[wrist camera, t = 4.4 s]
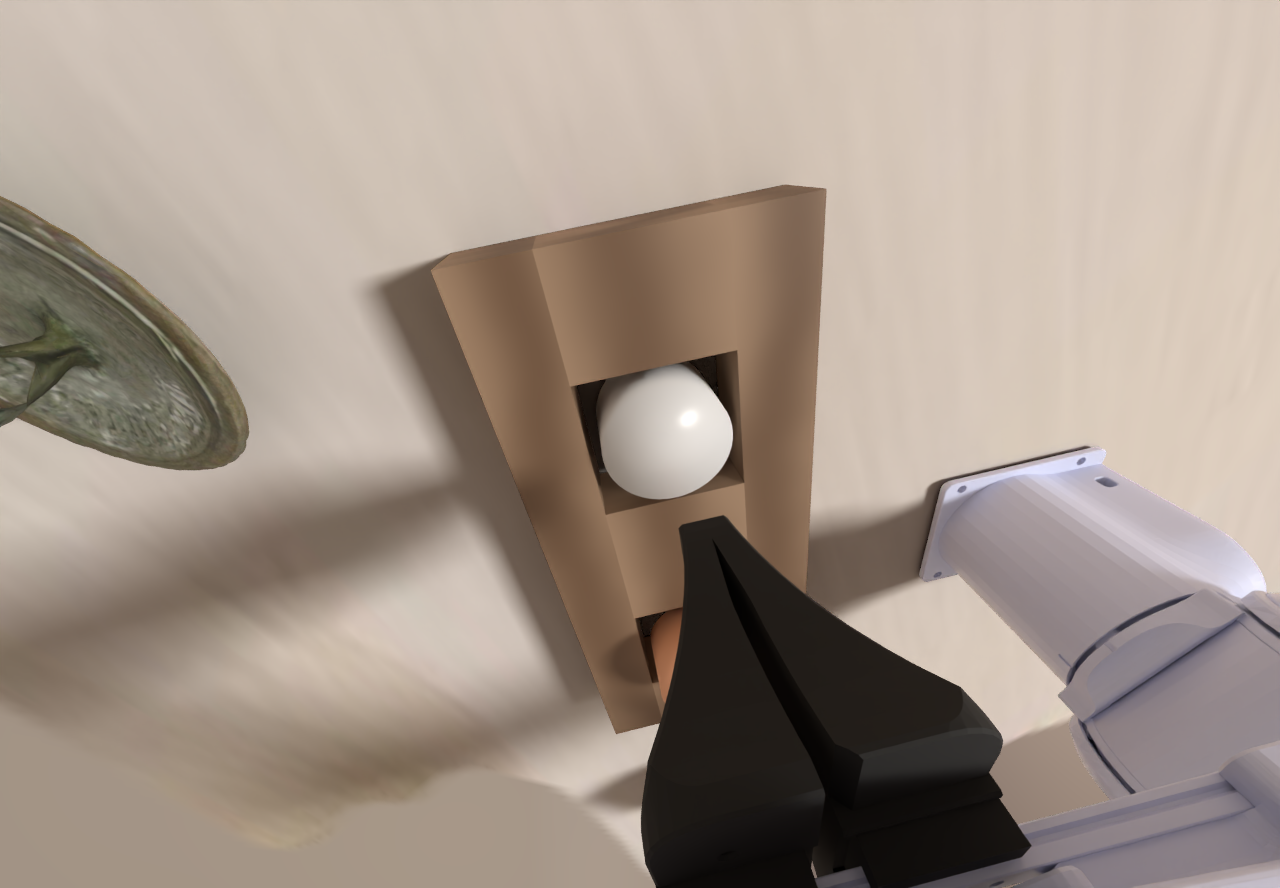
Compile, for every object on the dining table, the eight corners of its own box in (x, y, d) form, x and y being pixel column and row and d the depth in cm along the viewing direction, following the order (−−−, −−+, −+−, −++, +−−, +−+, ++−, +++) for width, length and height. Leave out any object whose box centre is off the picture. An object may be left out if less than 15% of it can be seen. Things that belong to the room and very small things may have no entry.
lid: (346, 337, 17) (275, 395, 13) (212, 498, 19) (116, 591, 15) (-51, 52, 12) (-391, -9, 8) (-162, 320, 14) (-465, 387, 10)
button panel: (784, 184, 16) (826, 188, 14) (781, 645, 31) (801, 687, 29) (450, 252, 16) (430, 270, 13) (611, 687, 31) (616, 734, 28)
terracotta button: (736, 590, 24) (759, 642, 21) (741, 646, 26) (761, 699, 24) (643, 612, 24) (654, 668, 21) (657, 666, 26) (668, 722, 24)
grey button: (704, 342, 18) (729, 371, 16) (714, 444, 21) (736, 483, 19) (584, 368, 18) (588, 402, 16) (608, 467, 21) (616, 511, 18)
